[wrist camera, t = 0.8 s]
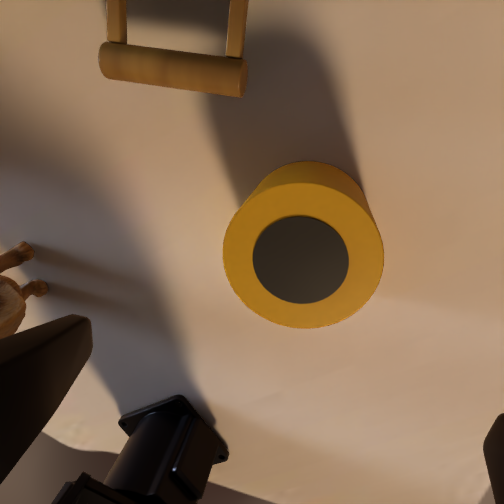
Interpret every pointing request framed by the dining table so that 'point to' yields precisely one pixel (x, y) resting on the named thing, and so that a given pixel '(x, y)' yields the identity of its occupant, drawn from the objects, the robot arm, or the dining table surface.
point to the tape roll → (304, 247)
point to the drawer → (176, 57)
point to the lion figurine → (16, 290)
